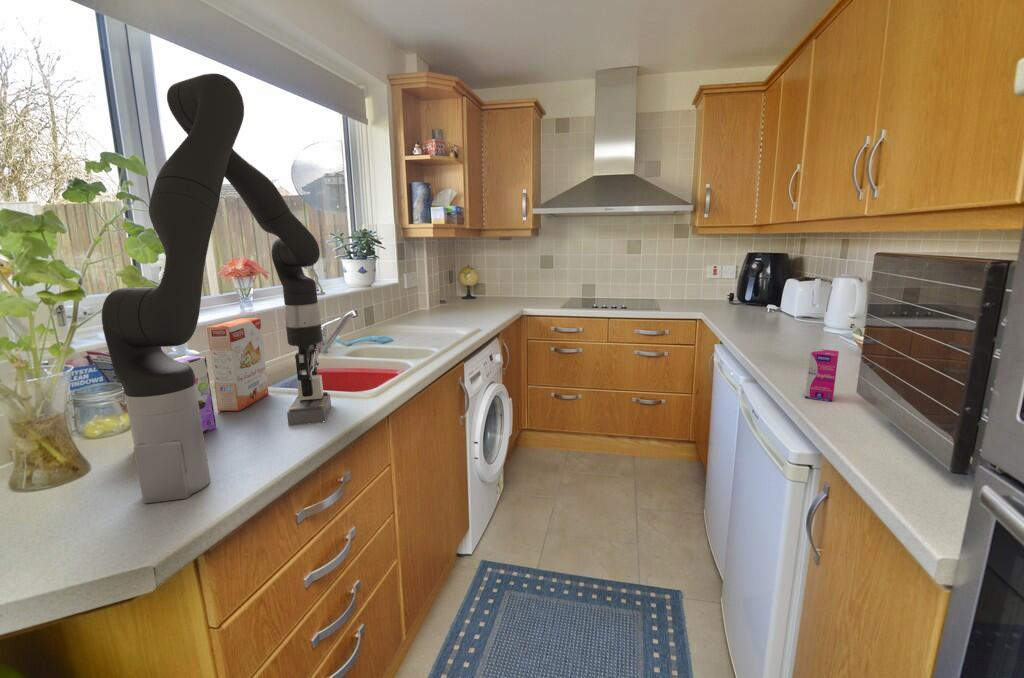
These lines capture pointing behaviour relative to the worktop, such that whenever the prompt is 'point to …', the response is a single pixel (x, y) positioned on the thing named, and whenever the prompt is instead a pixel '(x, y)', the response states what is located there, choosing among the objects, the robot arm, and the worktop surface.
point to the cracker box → (237, 363)
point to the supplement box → (821, 374)
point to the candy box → (201, 389)
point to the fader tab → (316, 387)
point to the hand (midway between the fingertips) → (310, 390)
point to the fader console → (309, 410)
